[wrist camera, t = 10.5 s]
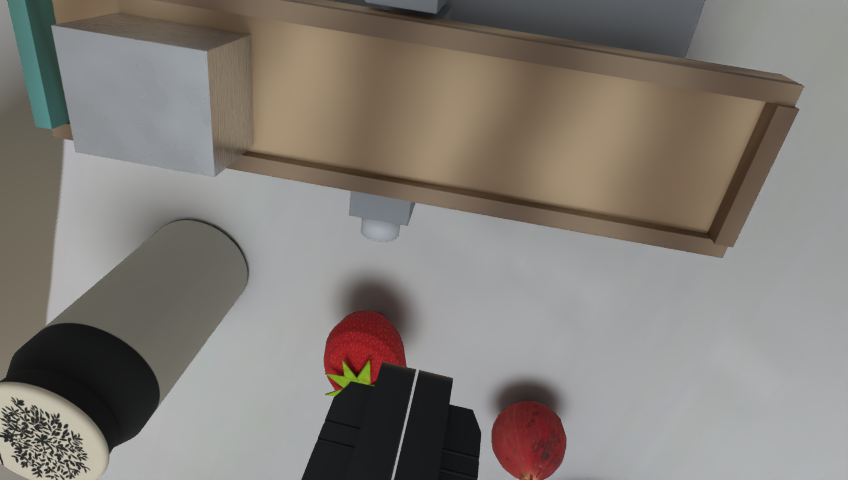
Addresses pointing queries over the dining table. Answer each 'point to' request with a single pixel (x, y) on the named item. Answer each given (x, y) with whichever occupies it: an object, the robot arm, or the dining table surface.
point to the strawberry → (361, 349)
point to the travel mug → (116, 353)
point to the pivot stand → (549, 16)
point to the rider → (157, 91)
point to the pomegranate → (529, 440)
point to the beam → (476, 116)
